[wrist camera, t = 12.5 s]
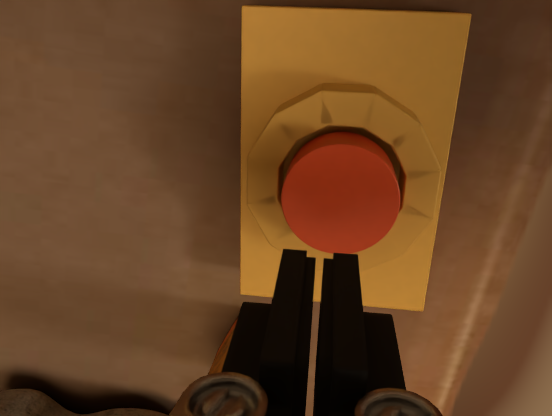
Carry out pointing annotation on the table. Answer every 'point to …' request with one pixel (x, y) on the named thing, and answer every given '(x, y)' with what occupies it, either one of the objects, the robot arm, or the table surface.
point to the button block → (348, 129)
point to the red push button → (340, 193)
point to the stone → (52, 406)
